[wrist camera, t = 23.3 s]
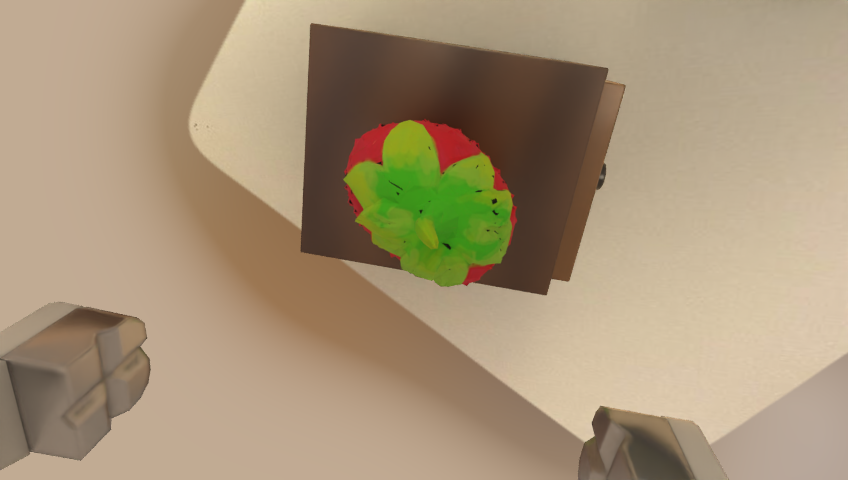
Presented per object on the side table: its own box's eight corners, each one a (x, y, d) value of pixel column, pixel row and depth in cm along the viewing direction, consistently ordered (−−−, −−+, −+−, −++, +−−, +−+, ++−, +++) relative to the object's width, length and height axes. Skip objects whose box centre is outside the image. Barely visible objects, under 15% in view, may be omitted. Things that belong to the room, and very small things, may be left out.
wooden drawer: (610, 78, 29) (652, 89, 22) (567, 234, 33) (591, 286, 26) (391, 45, 30) (362, 44, 23) (374, 201, 34) (346, 243, 27)
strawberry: (430, 69, 22) (392, 85, 13) (534, 185, 23) (569, 274, 14) (347, 155, 24) (262, 222, 15) (448, 256, 25) (430, 376, 16)
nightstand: (571, 61, 30) (609, 68, 21) (530, 232, 34) (546, 296, 26) (359, 29, 31) (310, 23, 22) (345, 200, 35) (300, 252, 26)
